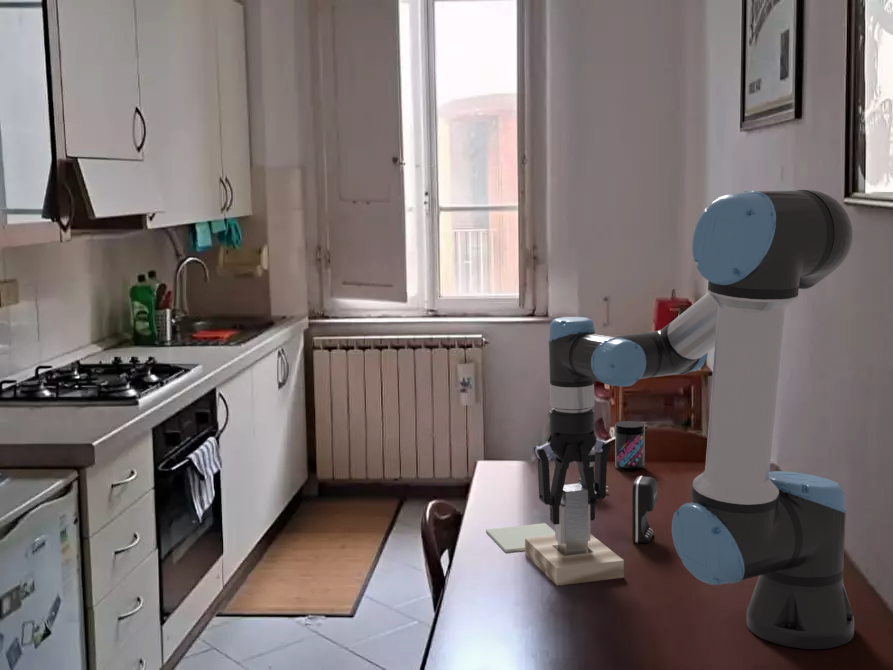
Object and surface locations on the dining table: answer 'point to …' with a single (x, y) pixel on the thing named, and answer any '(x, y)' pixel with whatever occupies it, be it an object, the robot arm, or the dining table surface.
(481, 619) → the dining table surface
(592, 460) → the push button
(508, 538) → the pad
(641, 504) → the key lock box
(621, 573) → the socket block
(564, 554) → the peg
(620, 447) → the supplement container
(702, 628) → the dining table surface
